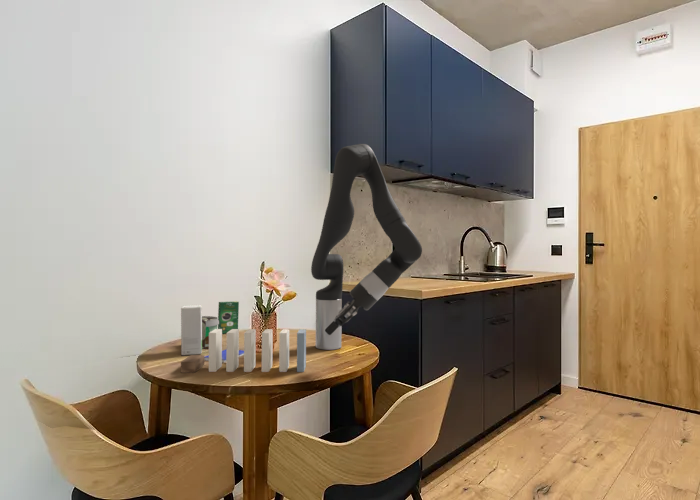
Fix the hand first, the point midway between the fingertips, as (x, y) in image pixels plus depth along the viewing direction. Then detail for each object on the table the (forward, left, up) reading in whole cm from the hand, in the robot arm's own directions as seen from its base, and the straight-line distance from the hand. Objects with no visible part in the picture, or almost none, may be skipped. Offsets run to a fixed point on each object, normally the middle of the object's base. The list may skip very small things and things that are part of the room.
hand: (327, 332), depth 126 cm
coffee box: (-41, -56, -11) cm, 71 cm away
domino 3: (+6, -22, -11) cm, 25 cm away
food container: (-18, -50, -11) cm, 55 cm away
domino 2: (+7, -27, -11) cm, 29 cm away
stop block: (+10, -38, -11) cm, 40 cm away
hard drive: (-5, -36, -11) cm, 38 cm away
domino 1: (+8, -31, -11) cm, 34 cm away
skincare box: (-7, -50, -11) cm, 52 cm away
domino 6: (+2, -7, -11) cm, 13 cm away
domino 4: (+4, -17, -11) cm, 20 cm away
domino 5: (+3, -12, -11) cm, 16 cm away
